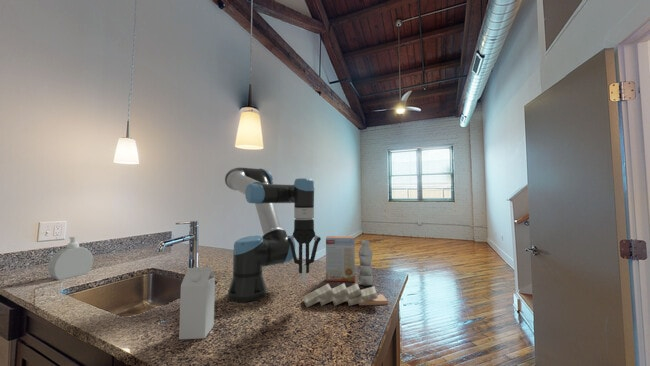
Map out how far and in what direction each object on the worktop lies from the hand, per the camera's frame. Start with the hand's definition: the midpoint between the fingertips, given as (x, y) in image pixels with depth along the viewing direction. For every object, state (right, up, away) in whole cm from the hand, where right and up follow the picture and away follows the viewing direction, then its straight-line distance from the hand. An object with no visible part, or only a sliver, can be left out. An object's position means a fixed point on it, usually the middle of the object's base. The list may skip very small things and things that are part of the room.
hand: (303, 281), depth 94 cm
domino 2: (+6, -8, +1) cm, 10 cm away
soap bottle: (-123, -11, +34) cm, 128 cm away
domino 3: (+11, -8, +1) cm, 14 cm away
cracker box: (+16, -10, +28) cm, 34 cm away
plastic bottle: (+27, -10, +20) cm, 35 cm away
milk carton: (-30, -8, -20) cm, 37 cm away
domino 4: (+17, -7, +1) cm, 18 cm away
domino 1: (0, -8, 0) cm, 8 cm away
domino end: (+20, -8, +2) cm, 22 cm away
